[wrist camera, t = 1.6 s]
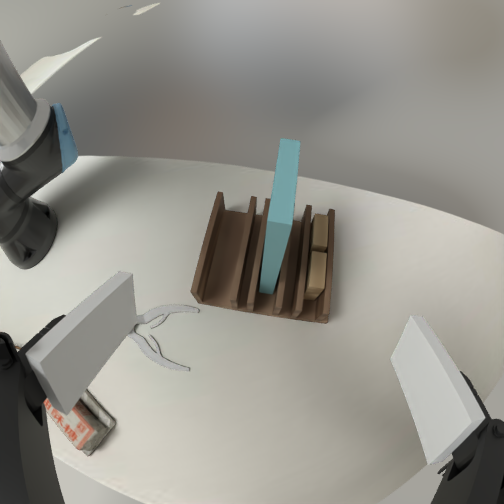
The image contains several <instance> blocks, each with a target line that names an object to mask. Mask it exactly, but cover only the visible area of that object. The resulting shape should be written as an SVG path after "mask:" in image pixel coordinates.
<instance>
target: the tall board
mask: <svg viewBox="0 0 504 504" xmlns="http://www.w3.org/2000/svg"><path fill="white" fill-rule="evenodd" d="M299 152H300V141H297V140H290V139H283V138H281V139H280V146H279V152H278V158H277V164H276V170H275V176H274V183H273V189H272V195H271V201H270V207H269V213H268V219H267V227H266V236H265V245H264V254H263V263H262V271H261V280H260V289H259V292H260V293H266V294H273V292H274V288H275V285H276V281H277V278H278V274H279V271H280V267H281V264H282V260H283V257H284V253H285V249H286V246H287V242H288V238H289V235H290V231H291V227H292V222H293V213H294V204H295V194H296V184H297V174H298V163H299V162H298V161H299Z"/></svg>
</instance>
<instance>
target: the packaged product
mask: <svg viewBox="0 0 504 504" xmlns="http://www.w3.org/2000/svg"><path fill="white" fill-rule="evenodd" d="M43 403H44V404H45V408H46V412H47V413H48V414H49V416H50V417H51V418H52V420H53V421H54V422H55V423H56V425H57V426H58V427H59V428H60V430H61V431H62V432H63V434H64V435H65V436H66V437H67V438H68V440H69V441H70V442H71V443H72V444H73V445H74V446H75V448H76V449H78V450H82V451H83V452H84V453H85V454H86V455H87V456H89V455H90V454H91V453H92V452H93V451H94V450H95V449H96V447H97V446H98V445H99V444H100V442H101V441H102V440H103V438H104V437H105V436H106V435H107V433H108V432H109V431H110V430H111V429H112V427H113V426H114V425H115V421H114V420H113V419H112V418H111V417H110V416H109V415H108V414H107V413H106V412H105V411H104V410H103V409H102V408H101V406H100V405H99V404H98V403H97V402H96V400H95V399H94V398H93V397H92V396H91V394H90V393H89V392H88V391H87V390H85V392H84V393H83V394H82V396H81V397H80V398H79V400H78V401H77V403H76V404H75V405H74V407H73V408H72V410H71V411H70V413H69V414H68V415H65V414H63V413H62V412H60V411H58V410H56V409H55V408H53V407H52V405H51V403H50V402H49V400H48V398H46V400H45V401H44V402H43Z"/></svg>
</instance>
